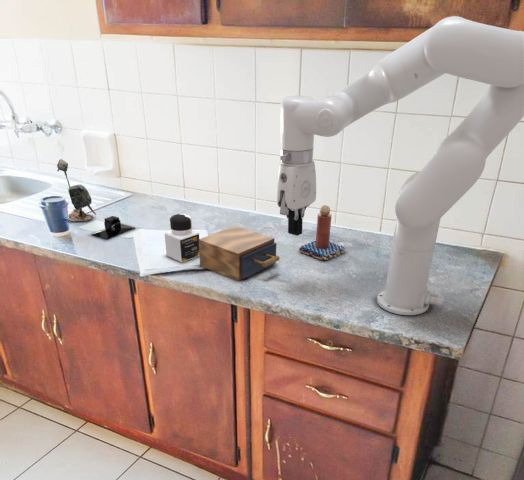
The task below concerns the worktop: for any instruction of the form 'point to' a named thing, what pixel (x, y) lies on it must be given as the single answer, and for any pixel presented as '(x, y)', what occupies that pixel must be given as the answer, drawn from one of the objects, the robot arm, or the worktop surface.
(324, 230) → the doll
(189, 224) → the medicine bottle
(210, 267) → the cabinet
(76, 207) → the bird figurine
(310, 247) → the woven mat
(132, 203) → the worktop surface
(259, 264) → the drawer
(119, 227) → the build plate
